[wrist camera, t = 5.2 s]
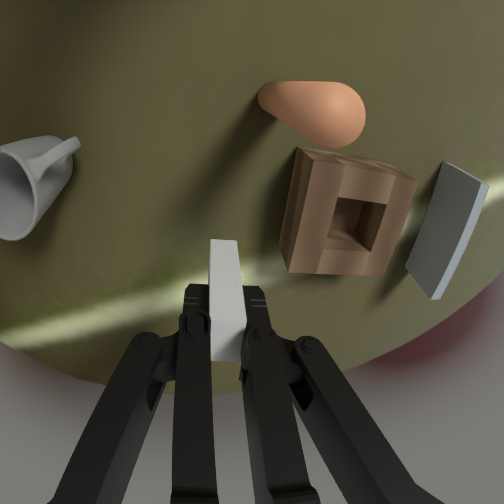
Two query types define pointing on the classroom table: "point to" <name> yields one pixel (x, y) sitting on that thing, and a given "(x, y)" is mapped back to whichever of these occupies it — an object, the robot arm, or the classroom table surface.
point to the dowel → (316, 110)
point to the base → (446, 228)
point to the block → (343, 214)
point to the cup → (32, 181)
